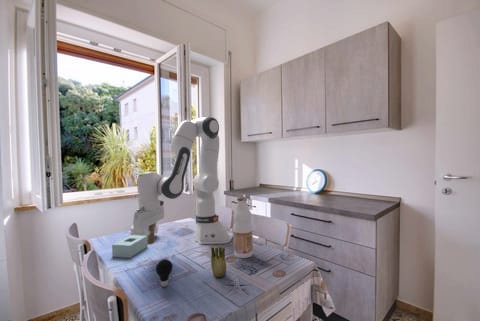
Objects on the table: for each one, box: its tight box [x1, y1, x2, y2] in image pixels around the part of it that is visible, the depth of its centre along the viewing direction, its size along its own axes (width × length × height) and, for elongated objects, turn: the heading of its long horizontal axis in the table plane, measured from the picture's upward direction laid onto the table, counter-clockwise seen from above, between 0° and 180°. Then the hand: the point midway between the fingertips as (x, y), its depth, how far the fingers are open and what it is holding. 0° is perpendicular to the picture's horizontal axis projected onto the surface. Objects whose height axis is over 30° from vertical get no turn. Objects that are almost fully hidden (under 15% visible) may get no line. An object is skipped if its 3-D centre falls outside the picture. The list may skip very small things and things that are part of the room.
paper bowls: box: [130, 224, 159, 241], centre depth 137 cm, size 15×15×8 cm
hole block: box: [111, 234, 148, 259], centre depth 117 cm, size 10×14×6 cm
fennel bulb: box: [210, 245, 227, 278], centre depth 91 cm, size 6×5×12 cm
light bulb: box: [155, 258, 173, 288], centre depth 84 cm, size 6×6×10 cm
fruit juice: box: [232, 196, 254, 259], centre depth 110 cm, size 9×9×28 cm
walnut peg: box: [147, 224, 156, 245], centre depth 109 cm, size 3×3×10 cm
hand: (150, 233), depth 109 cm, fingers closed on walnut peg, 3 cm apart
